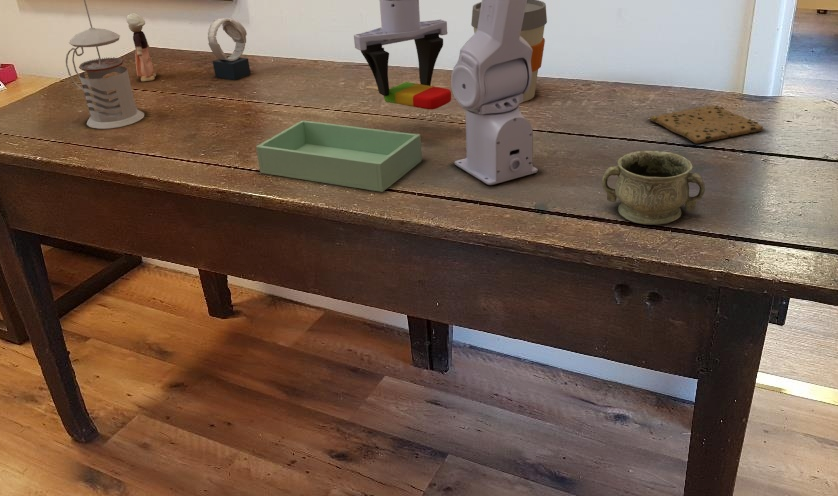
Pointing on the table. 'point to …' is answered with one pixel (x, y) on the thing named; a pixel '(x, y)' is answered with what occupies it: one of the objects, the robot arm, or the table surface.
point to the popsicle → (417, 95)
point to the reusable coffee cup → (527, 35)
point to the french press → (104, 82)
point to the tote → (340, 155)
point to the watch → (233, 64)
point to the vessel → (652, 186)
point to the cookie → (706, 123)
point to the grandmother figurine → (141, 48)
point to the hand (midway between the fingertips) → (405, 89)
